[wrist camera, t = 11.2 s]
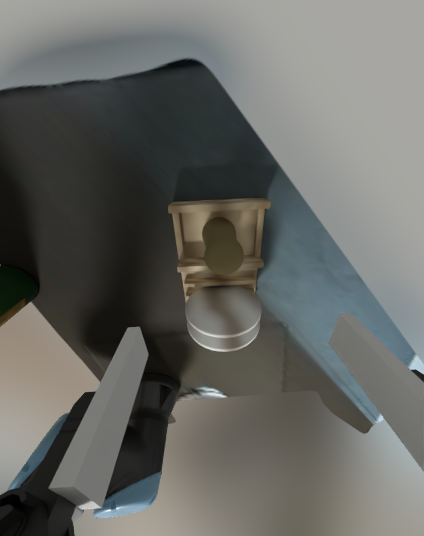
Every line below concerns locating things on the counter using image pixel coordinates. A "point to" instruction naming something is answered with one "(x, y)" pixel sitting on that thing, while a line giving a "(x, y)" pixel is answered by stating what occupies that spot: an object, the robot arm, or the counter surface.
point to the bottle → (14, 291)
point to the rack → (214, 285)
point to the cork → (221, 246)
